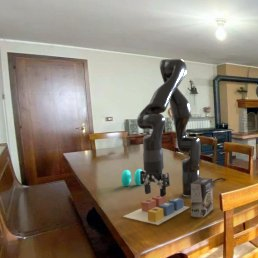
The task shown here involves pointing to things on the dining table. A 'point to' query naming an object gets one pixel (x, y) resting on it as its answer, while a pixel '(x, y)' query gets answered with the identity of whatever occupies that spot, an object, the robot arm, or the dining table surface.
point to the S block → (155, 214)
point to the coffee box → (201, 197)
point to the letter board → (143, 215)
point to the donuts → (127, 177)
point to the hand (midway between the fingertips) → (155, 194)
